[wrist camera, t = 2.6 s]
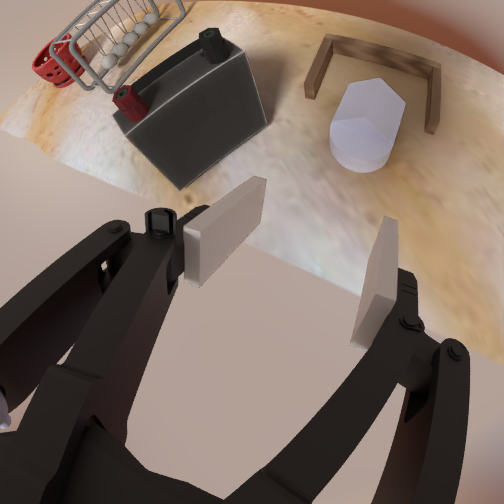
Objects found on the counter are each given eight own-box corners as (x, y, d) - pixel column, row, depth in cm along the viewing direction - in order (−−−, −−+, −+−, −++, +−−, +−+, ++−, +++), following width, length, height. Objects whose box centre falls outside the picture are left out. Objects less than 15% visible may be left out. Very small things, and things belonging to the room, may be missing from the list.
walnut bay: (436, 77, 41) (440, 64, 37) (433, 135, 38) (439, 122, 35) (326, 47, 46) (326, 33, 43) (305, 97, 44) (303, 83, 41)
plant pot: (48, 94, 63) (23, 71, 52) (73, 60, 65) (52, 36, 54) (72, 92, 60) (46, 65, 48) (100, 55, 62) (77, 27, 50)
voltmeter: (213, 81, 49) (171, -4, 30) (269, 130, 44) (237, 25, 25) (140, 135, 49) (76, 64, 30) (183, 195, 44) (105, 117, 25)
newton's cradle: (159, 15, 61) (133, -31, 44) (188, 14, 58) (163, -37, 41) (87, 94, 58) (44, 49, 41) (112, 98, 55) (66, 46, 38)
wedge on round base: (348, 97, 43) (320, 158, 41) (350, 67, 36) (319, 131, 35) (401, 116, 40) (380, 182, 39) (410, 88, 34) (389, 157, 32)
